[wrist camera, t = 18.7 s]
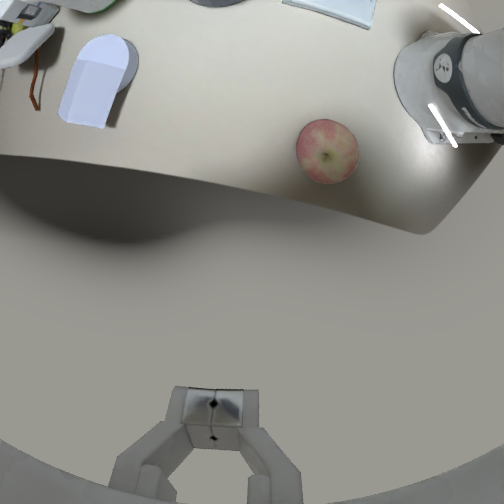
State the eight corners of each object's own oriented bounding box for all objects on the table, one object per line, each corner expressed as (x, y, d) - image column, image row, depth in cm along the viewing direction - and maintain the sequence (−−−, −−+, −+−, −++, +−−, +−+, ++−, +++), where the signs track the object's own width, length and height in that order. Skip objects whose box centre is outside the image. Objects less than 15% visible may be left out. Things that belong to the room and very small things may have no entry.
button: (23, 66, 23) (60, 28, 26) (19, 57, 22) (58, 20, 25) (-16, 75, 22) (19, 37, 25) (-20, 67, 20) (17, 30, 24)
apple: (286, 125, 36) (293, 124, 29) (340, 115, 35) (360, 114, 28) (298, 181, 39) (309, 194, 32) (351, 171, 38) (372, 182, 31)
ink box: (25, 14, 24) (-16, 4, 14) (43, -8, 23) (3, -22, 12) (42, 32, 27) (-3, 21, 16) (61, 8, 26) (19, -8, 15)
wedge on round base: (114, 127, 36) (148, 45, 31) (91, 130, 30) (129, 33, 25) (69, 113, 34) (99, 35, 29) (43, 115, 28) (76, 26, 23)
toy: (24, 42, 28) (-14, 41, 19) (8, 47, 27) (-29, 48, 19) (32, 10, 24) (-4, 4, 16) (16, 16, 24) (-20, 13, 15)
